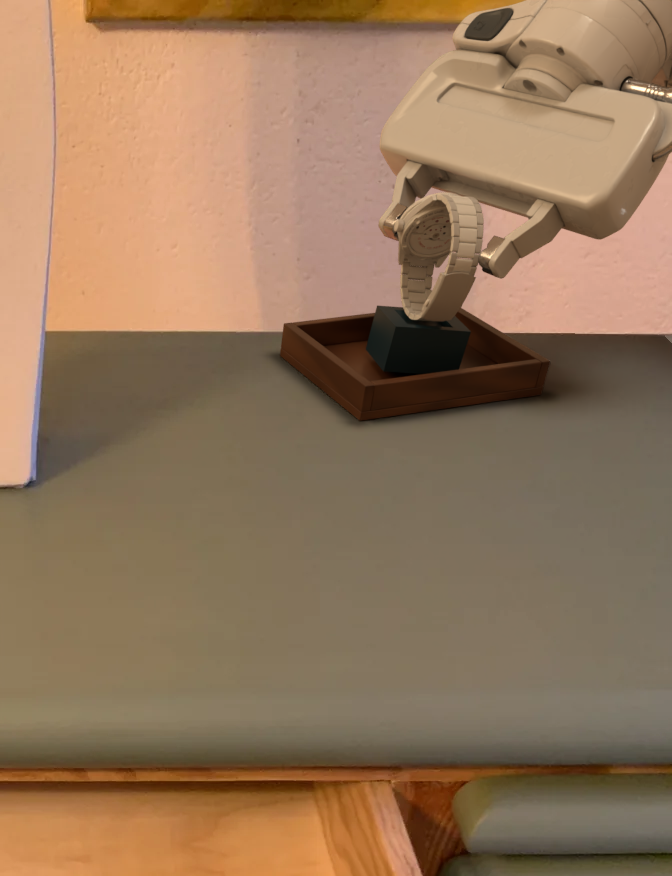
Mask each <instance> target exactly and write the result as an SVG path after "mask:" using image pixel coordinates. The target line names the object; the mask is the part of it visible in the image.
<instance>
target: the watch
mask: <svg viewBox="0 0 672 876" xmlns="http://www.w3.org/2000/svg"><path fill="white" fill-rule="evenodd" d="M484 219H485V218H484V213H483V208H482V205H481V203H479V202H478V200H477V199H475V198H474V197H467V196H464V197H463V196H460V195H458V194H454V193H449V192H444V191H440V192H437V193H436V192H435V193H432V194H428V195H425V196H424V198H422V199H420V198H419V199H418V200H415V203H413V204H412V205H411V206H410V207H409V208H407V210H406V211H405V212H404V214H403V215H402V217H401V218H400V219H397V220H396V221H395V224H394V231H395V232H397V233H398V238H399V241H398V246H397V247H398V249H397V250H398V251H397V263H398V265H399V266H400V276H399V294H400V301H401V305H402V306H389V305H376V307H375V312H374V313H375V315H374V319H373V323H372V327H371V331H370V335H369V338H368V342H367V346H366V350H367V352H368V353H369V354H370V355H371V357H372V358H373V359H374V360H375V362H376V363H377V364H378V365H379V367H380V368H381V369H382V370H383V371H384V372H400V373H417V374H429V373H436V372H444V371H451V370H458V369H459V368H460V365H461V362H462V358H463V355H464V352H465V349H466V346H467V343H468V339H469V336H470V333H471V331H470V330H469V329H468V328H467V327H466V326H465V325H464V324H463V323H462V322H461V321H460V320H459V319H458V318H457V317H456V316H455V315H456V313H457V312H458V310H459V309H460V308H462V307H463V304H464V302H465V301H466V299H467V298H468V296H469V294H470V291H471V289H472V287H473V285H474V283H475V281H476V278H477V277H476V276H475V274H476V272H477V270H478V266H479V263H478V257H479V255H480V253H481V252H482V250H483V249H482V248H483V242H484V241H483V238H484V229H485V227H484V223H485V222H484V221H485V220H484ZM447 258H448V260H447ZM446 260H447V264H446V267H445V269H444V272H443V271H441V272H440V273H439V275H438V276H437V279H436V282H435V283H434V286H433V275H434V270H435V268H437V269H438V268H441V266H442V265H443V264H444V263H445V261H446ZM432 286H433V287H432Z"/></svg>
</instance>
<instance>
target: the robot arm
mask: <svg viewBox="0 0 672 876" xmlns="http://www.w3.org/2000/svg"><path fill="white" fill-rule="evenodd" d="M451 39H452V42H453V45H454V48H455V49H454V50H451V51H448V52H445V53H443V54H442V55H440V56H439V57H438V58H436V59H435V60H434V61H433V62H431V64H430V65H429V66H428V67H426V69H424V71H423V72H422V73H421V75H420V76H419V77H418V78H417V79H416V81H415V82H414V83H413V85H412V86H411V87H410V88H409V90H408V91H407V92H406V94H405V95H404V96H403V98H402V99H401V100H400V102H399V103H398V105H397V106H396V108H395V109H394V110H393V111H392V113H391V114H390V116H389V117H388V119H387V120H386V122H385V124H384V125H383V127H382V128H381V132H380V137H379V150H380V153H381V154H382V157H383V158H384V160H385V162H386V163H387V166H388V167H389V168H390V170H391V172H392V173H393V174H394V176H396V177H395V178H396V179H395V183H394V188H393V193H392V198H391V203H390V205H389V206H388V207H387V208H386V209H385V211H384V213H383V214H382V215H381V217H380V218H379V220H378V224H377V225H378V228H379V230H380V232H381V233H382V235H383V236H384V238H388V239H391V240H394V241H396V242H399V238H398V233H397V232H395V231H394V224H395V221H396V220H397V219H400V218H401V217H402V215H403V214H404V212H405V211H406V210H407V208H409V207H410V206H411V205H412V204H413V203H415V202H416V201H417V200H416V199H417V198H418V199H419V200H420V199H422V198H424V197H426V196H427V194H428V193H429V191H430V190H431V189H434V190H438V191H440V192H444V193H445V192H446V193H447V192H449V193H454V194H458V195H460V196H463V197H464V196H467V197H474V198H475V199H477V200H478V202H479V204H482V205H485V206H489V207H492V208H495V209H498V210H501V211H505V212H508V213H511V214H514V215H518V216H521V217H524V218H527V219H528V220H526V221H525V222H523V223H522V224H521V225H519V226H518V227H516V228H515V229H514V230H512V231H511V232H509V233H508V234H506V236H504V237H501V236H497V235H493V236H492V237H491V238H490V239H489V241H488V242H487V244H486V248H484V249H481V253H480V255H479V257H478V266H480V267H481V270H482V272H483V273H486V274H487V275H490V276H493V277H494V278H498V279H502V280H503V279H504V278H506V277H507V275H508V274H509V273H510V272H511V270H512V269H513V268H514V266H515V265H516V264H517V263H518V262H519V260H520V259H523V258H525V257H527V256H528V255H530V254H532V253H533V252H536V251H537V250H540V249H541V248H542V247H544V246H546V245H547V244H549V243H551V242H552V241H553V240H554V239H555V237H556V236H557V235H558V234H559V232H560V231H561V230H565V231H569V232H572V233H575V234H578V235H582V236H585V237H588V238H590V239H595V240H598V241H599V240H603V239H604V240H605V238H608V237H610V236H612V235H615V233H617V232H619V231H620V230H622V229H623V228H624V227H625V226H626V224H627V223H628V222H629V220H630V219H631V218H632V216H633V215H635V212H636V211H637V209H638V208H639V207H640V205H641V203H642V202H643V201H644V199H645V198H646V196H647V194H648V193H649V192H650V190H651V188H652V187H653V185H654V183H655V182H656V180H657V179H658V177H659V175H660V173H661V172H662V170H663V168H664V166H665V165H666V162H667V160H668V159H669V156H670V154H671V153H672V0H523V1H520V2H517V3H514V4H509V5H505V6H500V7H495V8H491V9H486V10H480V11H475V12H472V13H469V14H468V15H466V16H465V17H464V18H463V19H462V20H461V21H460V22H459V24H458V25H457V27H456V28H455V30H454V32H453V34H452V37H451Z"/></svg>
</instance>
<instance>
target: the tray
mask: <svg viewBox="0 0 672 876" xmlns="http://www.w3.org/2000/svg"><path fill="white" fill-rule="evenodd" d="M374 315H375V312H369V313H361V314H353V315H343V316H336V317H327V318H319V319H311V320H303V321H301V320H300V321H294V322H286V323H285V322H284V323H283V326H282V327H283V329H282V334H281V335H282V336H281V342H280V351H279V352H280V353H279V356H280V357H281V358H282V359H283V360H284V361H286V362H288V364H289V365H291V366H292V367H293V368H294V369H296V370H297V371H298V372H299V373H301V374H302V375H303V376H304V377H305V378H306V379H308V380H309V381H310V382H312V383H313V384H314V385H316V387H318V388H319V389H320V390H321V391H322V392H323V393H325V394H326V395H327V396H328V397H330V398H331V399H332V400H333V401H335V402H336V403H337V404H338V405H340V406H341V407H342V408H343V409H345V411H347V412H348V413H349V414H351V415H352V416H353V417H355V418H356V419H357V420H358V421H359V422H361V421H366V420H367V421H368V420H374V419H380V418H388V417H395V416H402V415H409V414H410V415H411V414H416V413H423V412H430V411H437V410H444V409H452V408H458V407H464V406H472V405H480V404H487V403H493V402H500V401H507V400H515V399H522V398H528V397H536V396H542V393H543V390H544V386H545V383H546V379H547V377H548V371H549V368H550V365H551V360H550V359H548V358H546V357H544V356H543V355H541V354H539V353H538V352H536V351H534V350H533V349H531V348H529V347H528V346H526V345H525V344H522V343H521V342H520V341H518V340H516V339H514V338H513V337H511V336H509V335H508V334H506V333H504V332H503V331H501V330H499V329H497V328H496V327H495V326H493V325H491V324H489V323H487V322H485V321H484V320H482V319H481V318H479V317H477V316H476V315H474V314H472V313H471V312H469V311H467V310H466V309H464V308H462V307H461V308H460V309H459V310H458V312H457V313H456V315H455V316H456V317H457V318H458V319H459V320H460V321H461V322H462V323H463V324H464V325H465V326H466V327H467V328H468V329H469V330H470V331H471V333H470V336H469V339H468V343H467V346H466V349H465V352H464V355H463V358H462V362H461V365H460V368H459V369H458V370H451V371H444V372H436V373H429V374H417V373H400V372H384V371H383V370H382V369H381V368H380V367H379V365H378V364H377V363H376V362H375V360H374V359H373V358H372V357H371V355H370V354H369V353H368V352H367V350H366V346H367V342H368V338H369V335H370V331H371V327H372V323H373V319H374Z"/></svg>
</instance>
